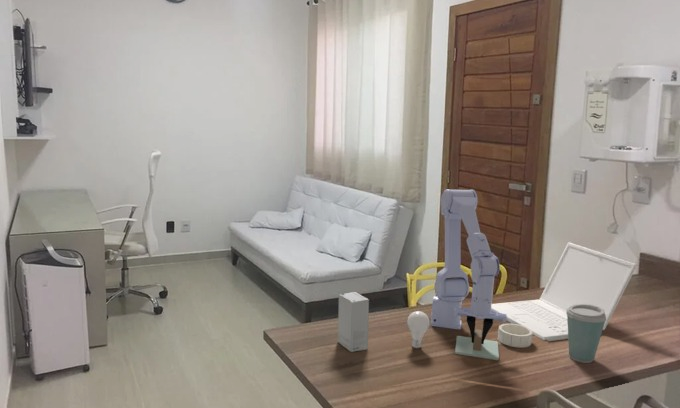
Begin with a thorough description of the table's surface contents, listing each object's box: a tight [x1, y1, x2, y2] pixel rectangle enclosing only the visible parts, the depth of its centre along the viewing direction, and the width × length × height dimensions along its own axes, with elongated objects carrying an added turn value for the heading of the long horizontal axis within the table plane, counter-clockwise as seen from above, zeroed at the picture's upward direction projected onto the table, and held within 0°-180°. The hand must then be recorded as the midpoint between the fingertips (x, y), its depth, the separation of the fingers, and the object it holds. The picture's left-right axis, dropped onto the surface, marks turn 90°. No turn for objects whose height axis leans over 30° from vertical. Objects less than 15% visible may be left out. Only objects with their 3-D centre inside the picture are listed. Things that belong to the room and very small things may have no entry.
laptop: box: [491, 241, 638, 342], centre depth 192 cm, size 30×35×23 cm
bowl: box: [497, 322, 533, 348], centre depth 172 cm, size 10×10×4 cm
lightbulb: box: [406, 310, 431, 349], centre depth 163 cm, size 6×6×11 cm
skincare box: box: [337, 291, 370, 353], centre depth 162 cm, size 8×6×15 cm
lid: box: [454, 328, 500, 361], centre depth 164 cm, size 12×12×5 cm
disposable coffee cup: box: [566, 304, 606, 364], centre depth 162 cm, size 11×11×15 cm
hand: (477, 342), depth 165 cm, fingers closed on lid
